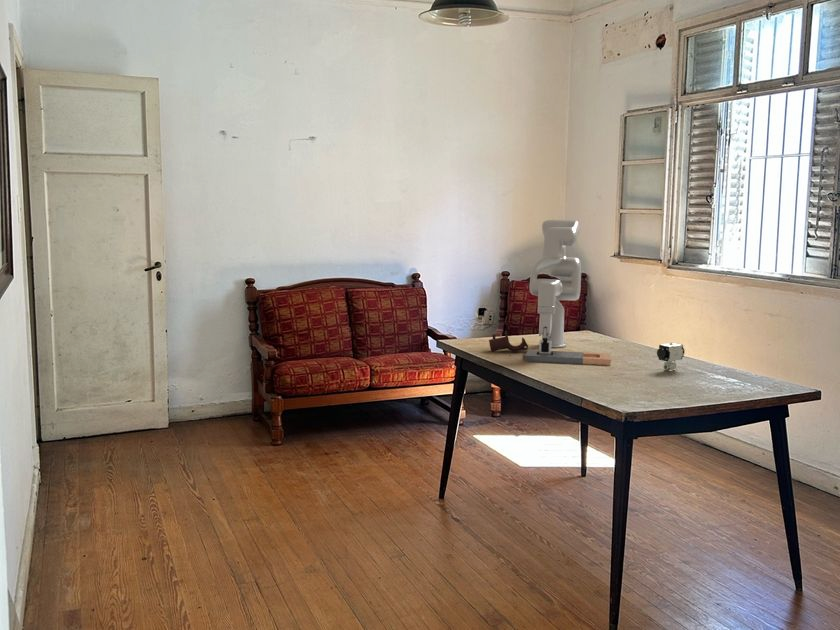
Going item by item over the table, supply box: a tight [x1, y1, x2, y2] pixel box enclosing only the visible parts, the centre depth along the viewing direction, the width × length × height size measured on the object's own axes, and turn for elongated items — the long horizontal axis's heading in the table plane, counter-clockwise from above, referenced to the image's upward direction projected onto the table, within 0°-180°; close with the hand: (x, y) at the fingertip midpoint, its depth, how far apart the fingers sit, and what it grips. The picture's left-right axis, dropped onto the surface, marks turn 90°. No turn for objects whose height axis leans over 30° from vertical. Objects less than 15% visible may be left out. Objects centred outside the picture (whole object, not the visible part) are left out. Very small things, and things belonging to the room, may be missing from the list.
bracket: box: [488, 329, 529, 353], centre depth 371 cm, size 6×17×10 cm, turn 88°
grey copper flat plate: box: [524, 349, 612, 366], centre depth 352 cm, size 14×36×2 cm, turn 78°
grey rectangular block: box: [538, 339, 552, 355], centre depth 354 cm, size 5×5×7 cm
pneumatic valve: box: [656, 341, 685, 371], centre depth 331 cm, size 6×12×12 cm, turn 122°
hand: (545, 350), depth 354 cm, fingers closed on grey rectangular block, 5 cm apart
